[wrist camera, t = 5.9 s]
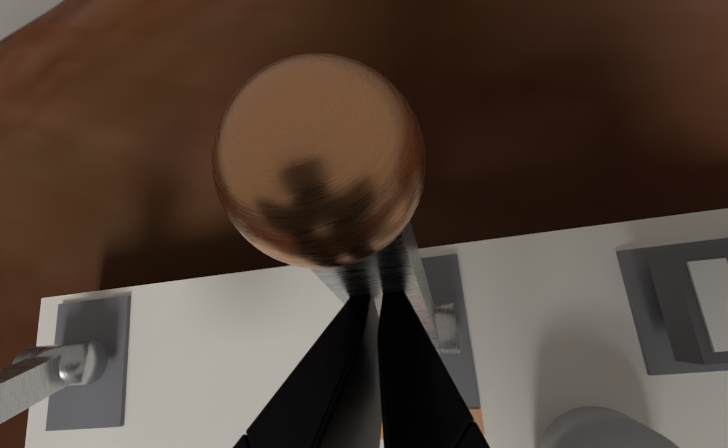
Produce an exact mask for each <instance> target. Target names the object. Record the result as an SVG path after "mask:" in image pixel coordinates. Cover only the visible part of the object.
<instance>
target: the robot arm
mask: <svg viewBox="0 0 728 448" xmlns="http://www.w3.org/2000/svg"><path fill="white" fill-rule="evenodd" d="M381 427H383V442H384V448H490V446H489V444H488V443H487V441H486V439H485V437H484V435H483V434H482V432H481V430H480V428H479V426H478V424H477V423H476V422H474V418H473V416H472V414H471V412H470V410H469V408H468V407H467V405H466V403H465V401H464V399H463V397H462V396H461V394H460V392H459V390H458V388H457V386H456V385H455V383H454V381H453V379H452V377H451V376H450V374H449V372H448V370H447V368H446V366H445V365H444V363H443V361H442V359H441V357H440V355H439V354H438V352H437V350H436V348H435V346H434V344H433V343H432V341H431V339H430V337H429V335H428V333H427V332H426V330H425V328H424V326H423V324H422V322H421V321H420V319H419V317H418V315H417V313H416V311H415V310H414V308H413V306H412V304H411V302H410V300H409V299H408V297H407V295H406V293H405V292H404V291H397V292H389V293H384V294H383V297H382V304H381V310H380V317H379V316H378V312H377V309H376V305H375V301H374V299H373V297H372V296H370V295H362V296H354V297H350V298H349V299H348V300H347V302H346V303H345V304H344V306H343V307H342V308H341V309H340V311H339V312H338V313H337V315H336V316H335V317H334V318H333V320H332V321H331V322H330V324H329V325H328V326H327V327H326V329H325V330H324V331H323V333H322V334H321V335H320V336H319V338H318V339H317V340H316V342H315V343H314V344H313V345H312V347H311V348H310V349H309V351H308V352H307V353H306V354H305V356H304V357H303V358H302V360H301V361H300V362H299V363H298V365H297V366H296V367H295V369H294V370H293V371H292V372H291V374H290V375H289V376H288V378H287V379H286V380H285V381H284V383H283V384H282V385H281V386H280V388H279V389H278V390H277V392H276V393H275V394H274V395H273V397H272V398H271V399H270V401H269V402H268V403H267V404H266V406H265V407H264V408H263V410H262V411H261V412H260V413H259V415H258V416H257V417H256V419H255V420H254V421H253V422H252V424H251V425H250V426H249V428H248V429H247V430H246V435H245V434H244V435H242V436H241V438H240V439H239V440H238V441H237V443H236V444H235V445H234V447H233V448H380V438H381Z"/></svg>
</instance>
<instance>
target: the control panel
mask: <svg viewBox="0 0 728 448" xmlns="http://www.w3.org/2000/svg"><path fill="white" fill-rule="evenodd" d="M722 247H728V208H725V209H718V210H710V211H702V212H695V213H687V214H680V215H672V216H664V217H657V218H649V219H641V220H634V221H626V222H619V223H611V224H603V225H596V226H588V227H581V228H573V229H565V230H558V231H550V232H542V233H535V234H527V235H520V236H512V237H504V238H497V239H489V240H482V241H474V242H466V243H459V244H451V245H444V246H436V247H428V248H421V249H418V250H419V253H420V257H421V260H422V264H423V267H424V271H425V275H426V278H427V282H428V285H429V289H430V292H431V296H432V300H433V303H434V305H438V304H447V303H453V305H454V312H455V318H456V325H457V332H458V339H459V346H460V353H461V354H451V355H440V357H441V359H442V361H443V363H444V365H445V366H446V368H447V370H448V372H449V374H450V376H451V377H452V379H453V381H454V383H455V385H456V386H457V388H458V390H459V392H460V394H461V396H462V397H463V399H464V401H465V403H466V405H467V407H468V408H469V410H470V412H471V414H472V416H473V418H474V422H476V423H477V424H478V426H479V428H480V430H481V432H482V434H483V435H484V437H485V439H486V441H487V443H488V444H489V446H490V448H539V445H540V442H541V439H542V437H543V434H544V433H545V431H546V429H547V428H548V426H549V425H550V424H551V423H552V422H553V421H554V420H555V419H556V418H557V417H559V416H560V415H562V414H563V413H565V412H567V411H569V410H572V409H575V408H579V407H586V406H598V407H605V408H609V409H612V410H615V411H618V412H620V413H623V414H624V415H626V416H628V417H630V418H632V419H634V420H636V421H637V422H639V423H641V424H643V425H645V426H647V427H648V428H650V429H652V430H654V431H656V432H658V433H660V434H661V435H663V436H665V437H666V438H668V439H669V440H671V441H672V442H673V443H674V444H676V445H677V446H678V447H679V448H728V363H722V364H710V365H701V364H694V363H686V362H678V361H675V358H674V354H673V351H672V347H671V344H670V340H669V336H668V333H667V329H666V326H665V322H664V318H663V315H662V311H661V308H660V304H659V300H658V297H657V293H656V290H655V286H654V282H653V279H652V275H651V272H650V268H649V265H648V261H647V260H648V259H651V258H655V257H658V256H662V255H666V254H669V253H675V252H684V251H694V250H703V249H713V248H722ZM343 306H344V303H343V302H342V301H341V300H340V299H339V298H338V297H337V296H336V295H335V294H334V293H333V292H332V291H331V290H330V289H329V288H328V287H327V286H326V285H325V284H324V283H323V282H322V281H321V280H320V279H319V277H318V276H317V275H316V274H315V273H314V272H313V271H312V270H311V269H309V268H302V267H297V266H292V265H291V266H284V267H276V268H268V269H261V270H253V271H246V272H238V273H230V274H223V275H215V276H208V277H200V278H192V279H185V280H177V281H169V282H162V283H154V284H147V285H139V286H131V287H124V288H116V289H109V290H101V291H93V292H86V293H78V294H70V295H63V296H55V297H48V298H42V299H41V308H40V317H39V326H38V335H37V344H36V347H37V346H46V345H56V344H65V343H75V342H85V341H98V342H100V343H102V344H103V345H104V347H105V348H106V350H107V354H108V363H107V367H106V370H105V372H104V373H103V375H102V376H101V377H100V378H99V379H98V380H97V381H96V382H94V383H91V384H83V385H71V386H66V387H64V388H62V389H61V390H59V391H57V392H55V393H54V394H52V395H50V396H48V397H47V398H45V399H43V400H41V401H40V402H38V403H36V404H34V405H32V406H31V407H29V415H28V424H27V433H26V442H25V448H233V447H234V445H235V444H236V443H237V441H238V440H239V439H240V438H241V436H242V435H244V434H245V435H246V430H247V429H248V428H249V426H250V425H251V424H252V422H253V421H254V420H255V419H256V417H257V416H258V415H259V413H260V412H261V411H262V410H263V408H264V407H265V406H266V404H267V403H268V402H269V401H270V399H271V398H272V397H273V395H274V394H275V393H276V392H277V390H278V389H279V388H280V386H281V385H282V384H283V383H284V381H285V380H286V379H287V378H288V376H289V375H290V374H291V372H292V371H293V370H294V369H295V367H296V366H297V365H298V363H299V362H300V361H301V360H302V358H303V357H304V356H305V354H306V353H307V352H308V351H309V349H310V348H311V347H312V345H313V344H314V343H315V342H316V340H317V339H318V338H319V336H320V335H321V334H322V333H323V331H324V330H325V329H326V327H327V326H328V325H329V324H330V322H331V321H332V320H333V318H334V317H335V316H336V315H337V313H338V312H339V311H340V309H341V308H342V307H343ZM380 448H384V442H383V427H381V438H380Z"/></svg>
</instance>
